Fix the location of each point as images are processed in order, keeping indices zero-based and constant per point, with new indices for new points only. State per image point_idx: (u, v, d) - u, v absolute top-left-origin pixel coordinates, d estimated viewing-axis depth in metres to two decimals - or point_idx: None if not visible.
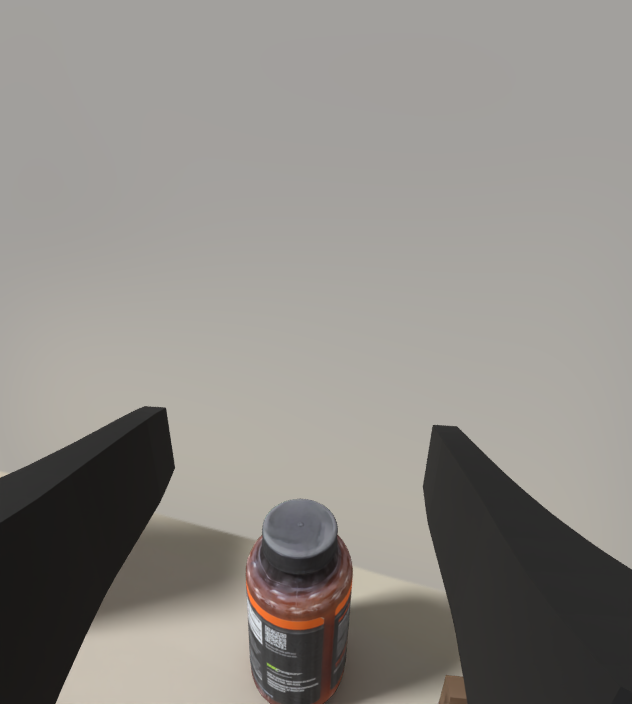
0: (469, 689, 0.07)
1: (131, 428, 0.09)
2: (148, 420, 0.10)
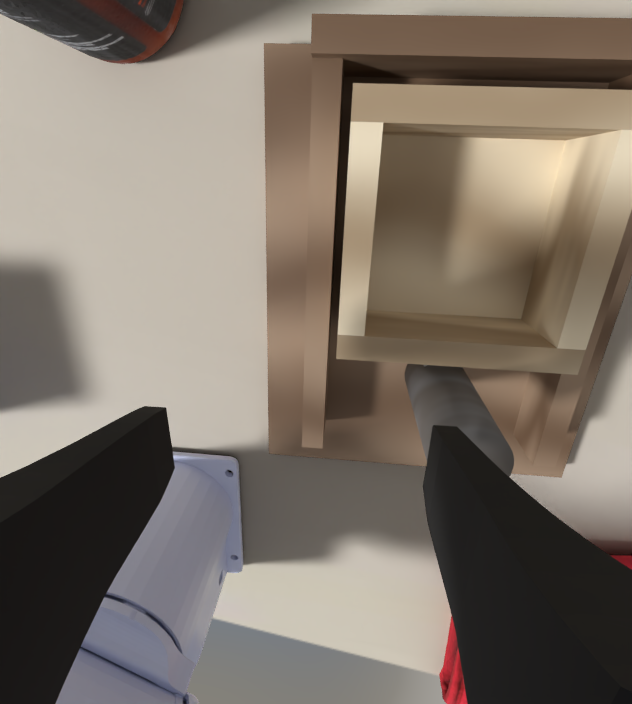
0: (469, 689, 0.07)
1: (131, 428, 0.09)
2: (148, 420, 0.10)
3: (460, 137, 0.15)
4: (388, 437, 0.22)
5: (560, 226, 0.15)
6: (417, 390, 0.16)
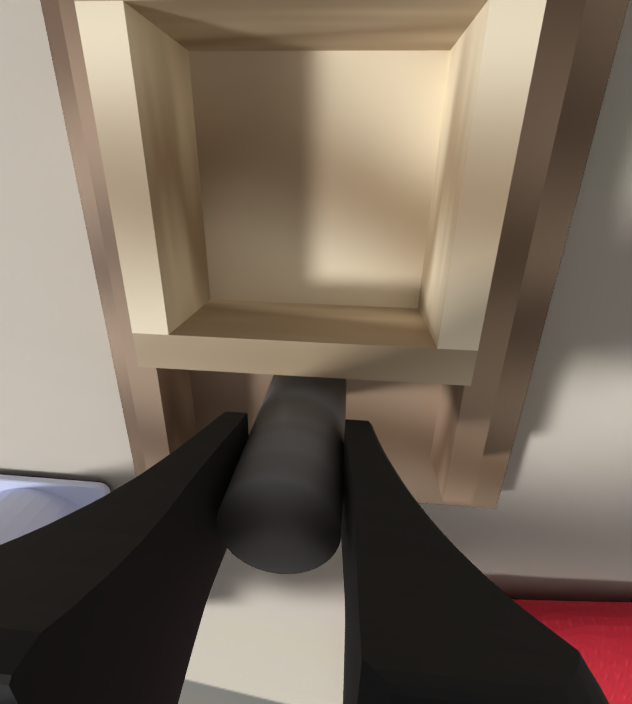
0: (344, 676, 0.07)
1: (226, 435, 0.09)
2: (237, 426, 0.10)
3: (301, 50, 0.11)
4: None
5: (443, 173, 0.10)
6: None
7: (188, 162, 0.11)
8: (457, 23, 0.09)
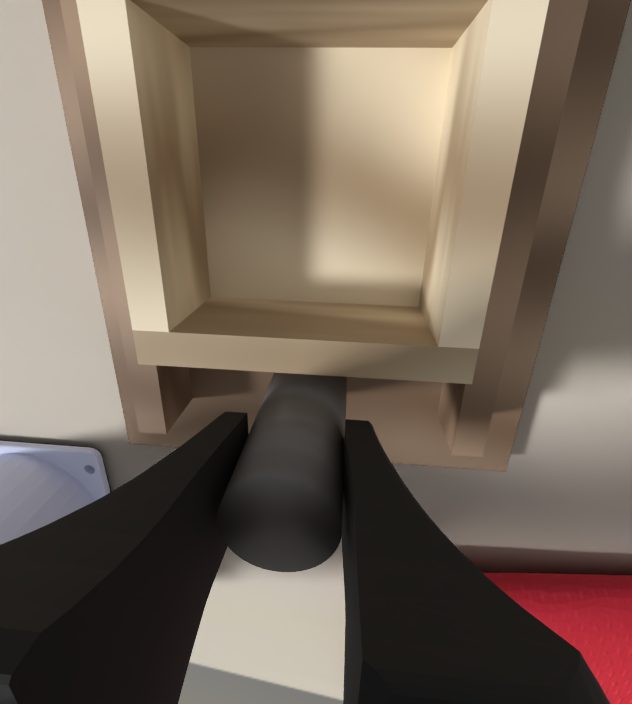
0: (344, 675, 0.07)
1: (226, 435, 0.09)
2: (237, 426, 0.10)
3: (303, 47, 0.11)
4: None
5: (445, 171, 0.10)
6: (260, 407, 0.12)
7: (189, 159, 0.11)
8: (460, 20, 0.09)
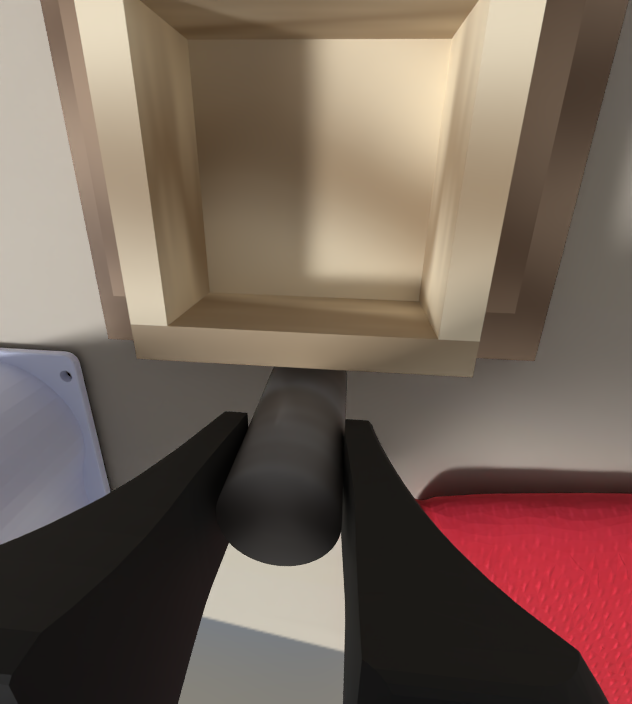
0: (344, 676, 0.07)
1: (226, 435, 0.09)
2: (237, 426, 0.10)
3: (302, 38, 0.11)
4: None
5: (445, 163, 0.10)
6: (259, 401, 0.11)
7: (187, 152, 0.11)
8: (459, 8, 0.09)
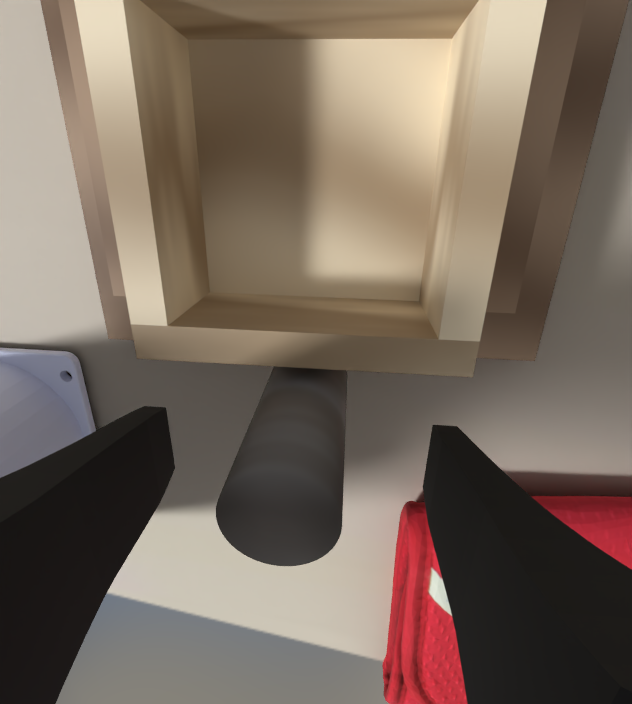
0: (469, 689, 0.07)
1: (131, 428, 0.09)
2: (148, 420, 0.10)
3: (302, 38, 0.11)
4: None
5: (445, 163, 0.10)
6: None
7: (187, 152, 0.11)
8: (459, 8, 0.09)
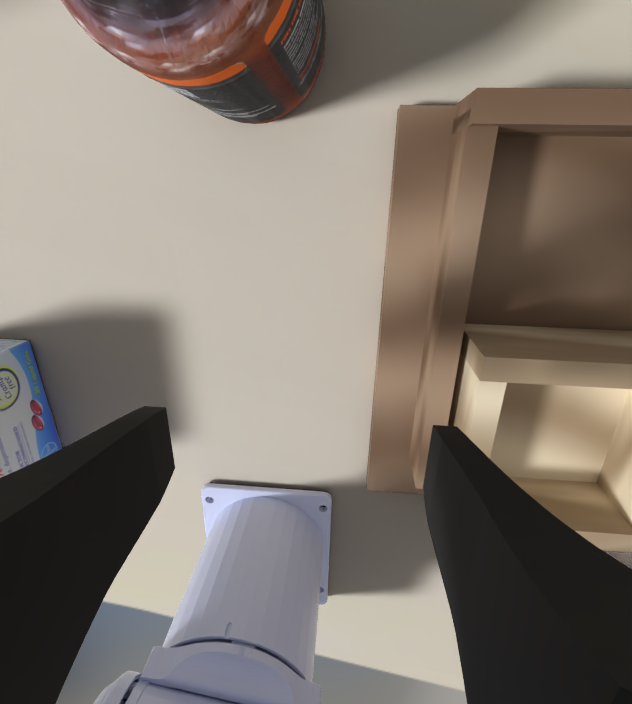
0: (469, 689, 0.07)
1: (131, 428, 0.09)
2: (148, 420, 0.10)
3: None
4: None
5: None
6: None
7: None
8: None
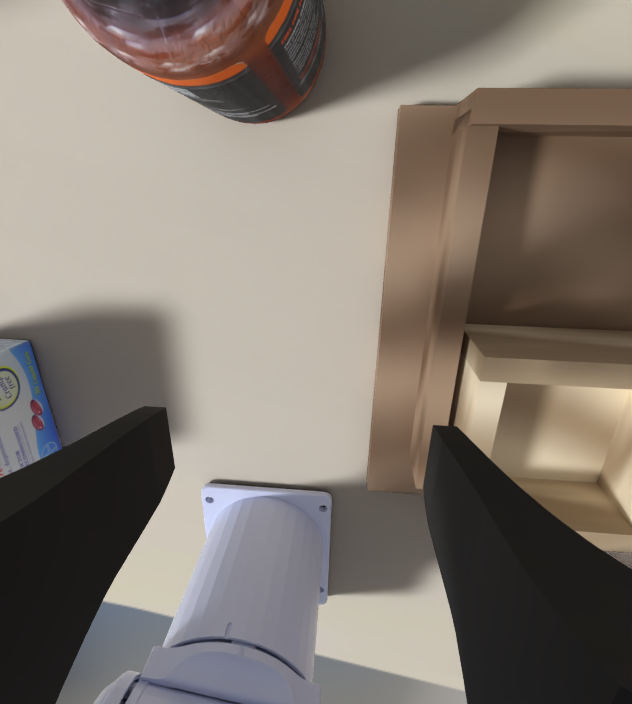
0: (469, 689, 0.07)
1: (131, 428, 0.09)
2: (148, 420, 0.10)
3: None
4: None
5: None
6: None
7: None
8: None
